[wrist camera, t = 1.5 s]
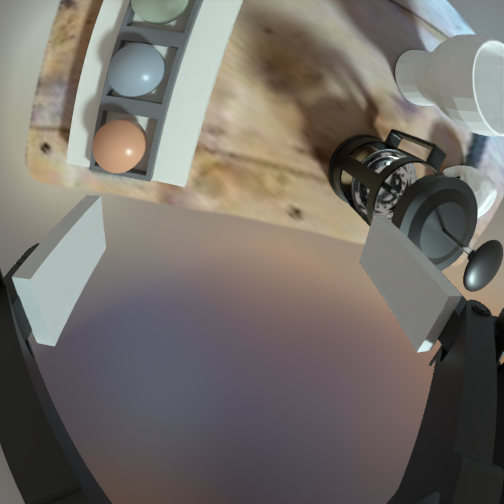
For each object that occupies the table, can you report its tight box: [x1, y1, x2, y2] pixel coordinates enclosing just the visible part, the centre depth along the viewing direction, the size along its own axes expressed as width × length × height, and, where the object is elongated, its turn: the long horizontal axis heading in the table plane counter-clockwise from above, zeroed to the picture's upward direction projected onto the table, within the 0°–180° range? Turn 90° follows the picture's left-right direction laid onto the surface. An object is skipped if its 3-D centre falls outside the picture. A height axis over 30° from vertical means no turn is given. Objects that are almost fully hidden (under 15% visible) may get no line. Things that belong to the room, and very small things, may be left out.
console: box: [66, 0, 244, 187], centre depth 26 cm, size 22×14×6 cm, turn 163°
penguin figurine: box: [443, 165, 497, 218], centre depth 35 cm, size 6×8×12 cm
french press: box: [329, 129, 503, 292], centre depth 26 cm, size 12×9×23 cm
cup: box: [395, 34, 504, 136], centre depth 23 cm, size 11×11×15 cm
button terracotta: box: [92, 118, 147, 173], centre depth 25 cm, size 5×5×2 cm
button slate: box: [108, 43, 166, 97], centre depth 22 cm, size 5×5×2 cm
